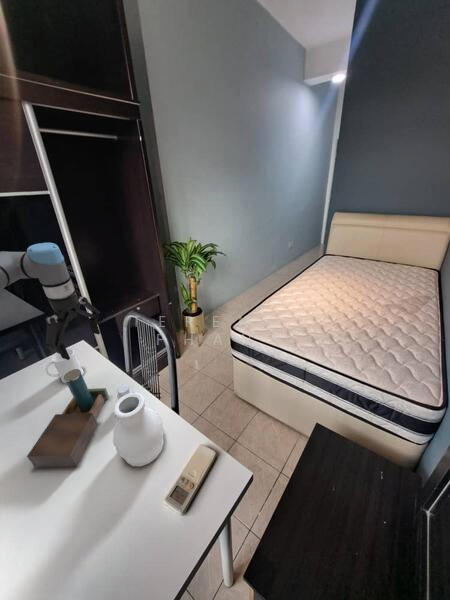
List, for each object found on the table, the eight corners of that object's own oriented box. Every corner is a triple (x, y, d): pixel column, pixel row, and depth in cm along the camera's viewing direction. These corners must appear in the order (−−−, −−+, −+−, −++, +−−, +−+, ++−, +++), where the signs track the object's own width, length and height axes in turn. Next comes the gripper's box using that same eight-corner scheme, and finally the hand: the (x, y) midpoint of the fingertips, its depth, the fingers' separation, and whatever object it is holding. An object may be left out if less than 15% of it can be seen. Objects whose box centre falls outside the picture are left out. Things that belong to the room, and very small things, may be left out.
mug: (52, 390, 100) (40, 368, 94) (53, 376, 107) (42, 355, 101) (84, 378, 105) (74, 356, 99) (83, 366, 111) (74, 345, 106)
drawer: (81, 395, 96) (77, 386, 93) (110, 394, 95) (107, 385, 93) (61, 428, 84) (55, 419, 81) (94, 427, 83) (89, 418, 81)
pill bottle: (129, 397, 95) (124, 380, 91) (139, 402, 92) (133, 385, 88) (118, 407, 91) (111, 390, 87) (127, 413, 88) (121, 396, 84)
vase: (138, 482, 68) (120, 439, 59) (111, 452, 76) (90, 409, 67) (176, 441, 78) (165, 398, 69) (148, 418, 86) (135, 377, 77)
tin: (79, 405, 90) (63, 373, 83) (94, 398, 93) (79, 366, 85) (80, 415, 86) (63, 382, 79) (96, 408, 89) (81, 375, 81)
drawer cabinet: (62, 426, 85) (55, 414, 82) (98, 425, 85) (92, 412, 82) (36, 469, 73) (26, 456, 70) (77, 467, 73) (70, 454, 70)
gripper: (32, 319, 65) (60, 374, 76) (100, 278, 85) (115, 326, 96) (11, 313, 67) (42, 367, 78) (83, 274, 87) (99, 322, 98)
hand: (82, 345), depth 87 cm, fingers open, 13 cm apart
